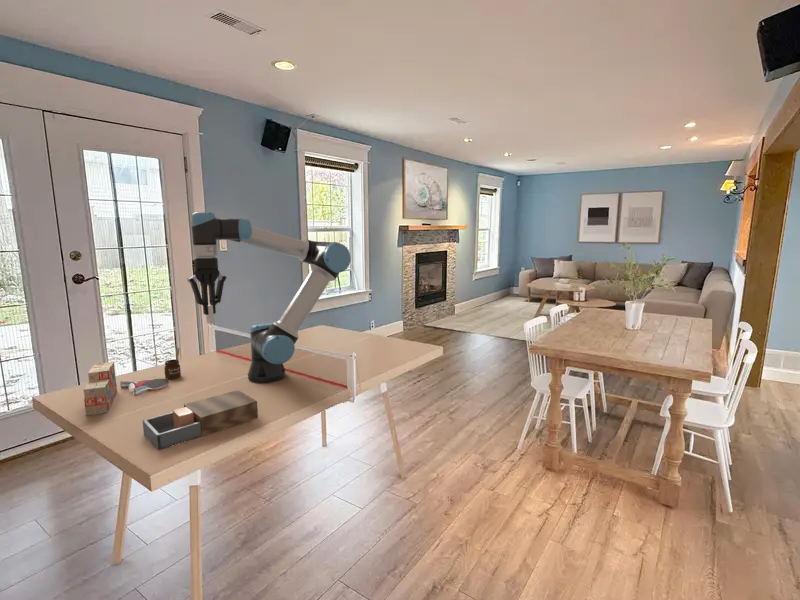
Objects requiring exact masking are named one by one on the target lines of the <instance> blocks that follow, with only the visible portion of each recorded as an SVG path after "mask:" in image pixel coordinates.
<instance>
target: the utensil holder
mask: <svg viewBox="0 0 800 600" xmlns="http://www.w3.org/2000/svg"><path fill="white" fill-rule="evenodd" d="M166 354H167V355H168V352H165V353H164V357H163V359H164V361H165V362H164V365H165V366H164V377H165V379H166V378H168V379H167V380H175V379H179V378H180V377H181V375H182V372H181V365H180V362H179V360H178V356H179V355H180V347H177V348H176V353H175V355H176V357H175V359H171V358H170V357H169V356H166ZM167 357H168V359H166V358H167Z"/></svg>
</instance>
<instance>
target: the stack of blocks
mask: <svg viewBox="0 0 800 600" xmlns="http://www.w3.org/2000/svg"><path fill="white" fill-rule="evenodd" d="M115 367H116V366H115V361H108V362H100V363H94V364H93V365H92V367H91V368H90V369H89V371H88V373H87V375H88V382H87V384H85V387H84V388H83V396H84V399H83V401H84V407H85V408H84V409H85V410H84V411H85V416H92V415H99V414H105V413H108V412H109V410H110V409H111V406H112V403H113V401H114V399H115V397H116V395H117V394H118V386H117V380H116V379H117V378H116V370H115ZM116 393H117V394H116Z"/></svg>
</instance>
